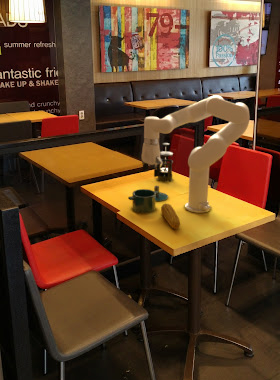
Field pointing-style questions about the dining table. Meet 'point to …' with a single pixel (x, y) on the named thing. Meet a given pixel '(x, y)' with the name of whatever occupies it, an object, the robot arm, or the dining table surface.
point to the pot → (143, 200)
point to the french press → (165, 172)
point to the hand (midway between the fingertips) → (151, 173)
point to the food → (170, 215)
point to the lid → (160, 195)
